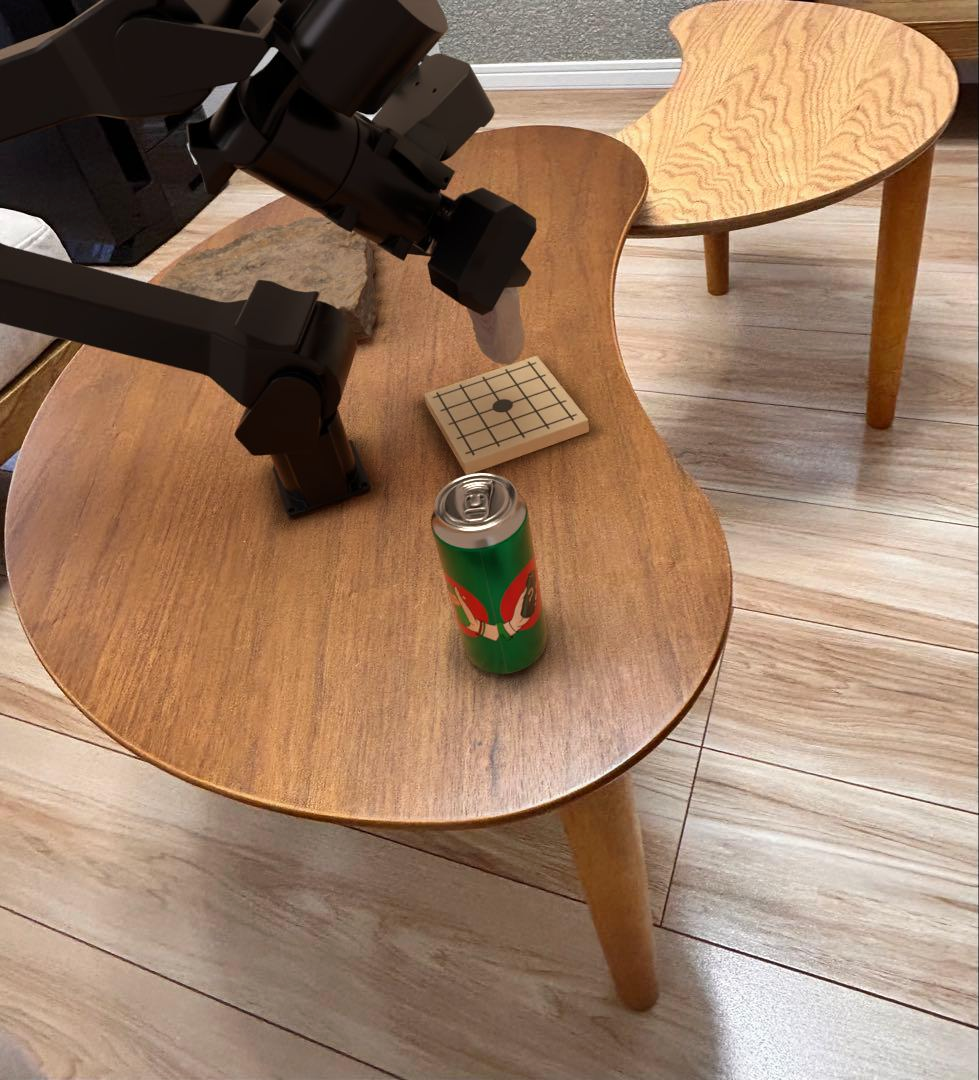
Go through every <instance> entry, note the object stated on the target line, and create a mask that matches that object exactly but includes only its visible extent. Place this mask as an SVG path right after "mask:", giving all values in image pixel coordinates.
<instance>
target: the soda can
mask: <svg viewBox="0 0 979 1080" xmlns="http://www.w3.org/2000/svg"><path fill="white" fill-rule="evenodd" d="M433 505H434V506H433V511H432V513H431V517H430V518H431V519H430V528H431V531H432V536H433V539H434V544H435V547H436V550H437V553H438V558H439V561H440V565H441V569H442V572H443V576H444V580H445V584H446V587H447V591H448V595H449V598H450V602H451V605H452V609H453V613H454V617H455V620H456V624H457V628H458V632H459V635H460V639H461V642H462V646H463V650H464V653H465V655H466V657H467V658H468V660H469V661H470V662H471V664H472V665H474V666H475V667H477V668H478V669H479V670H482V671H484V672H487V673H492V674H499V675H504V674H505V675H507V674H513V673H516V672H519V671H522V670H524V669H526V668H528V667H530V666H531V665H533V663H536V661H537V660H538V659H539V658H540V657H541V655H542V654H543V653H544V651H545V649H546V646H547V642H548V630H547V625H546V618H545V617H546V616H545V611H544V606H543V599H542V593H541V587H540V586H541V585H540V580H539V573H538V567H537V560H536V555H535V548H534V541H533V535H532V529H531V521H530V517H529V510H528V509H529V508H528V506H527V503H526V501H525V498H524V497H523V496H522V495H521V494H520V493H519V492H518V490H517V489H516V486H515V485H514V484H513V483H512V482H511V481H510V480H509V479H508V478H506V477H504V476H502V475H499V474H495V473H490V472H475V473H472V474H469V475H466V474H464V475H462V476H459V477H457V478H455V479H453V480H452V481H450V482H449V483H447V484H446V485H445V486H444V487H442V489H441V490H440V491H439V492H438V494H437V496H436V497H435V500H434V504H433Z"/></svg>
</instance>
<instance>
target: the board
mask: <svg viewBox="0 0 979 1080" xmlns="http://www.w3.org/2000/svg"><path fill="white" fill-rule="evenodd" d="M423 396H424V400H425V405H426V407H427V409H428V411H429V412H430V414H431V416H432V418H433V419H434V421H435V423H436V425H437V427H438V428H439V430H440V432H441V434H442V435H443V437H444V439H445V440H446V443H447V444H448V446H449V447H450V449H451V451H452V453H453V455H454V456H455V458H456V460H457V462H458V463H459V465H460V467H461V469H462V471H463V472H464V475H469V474H474V473H479V472H480V471H483V470H486V469H488V468H491V467H495V466H497V465H500V464H503V463H506V462H508V461H511V460H514V459H517V458H520V457H522V456H525V455H528V454H532V453H533V452H536V451H539V450H542V449H545V448H548V447H550V446H554V445H556V444H559V443H561V442H564V441H567V440H569V439H573V438H577V437H579V436H582V435H585V434H587V433H589V432H590V427H589V419H588V417H587V416H586V415H585V414H584V412H583V411H582V410H581V409H580V408H579V406H578V405H577V404H576V402H575V401H574V400H573V398H572V397H571V396H570V395H569V394H568V392H567V391H566V390H565V389H564V387H563V386H562V385H561V384H560V382H559V381H558V380H557V378H555V376H554V375H553V374H552V372H551V371H550V370H549V368H547V366H546V365H545V364H544V362H543V361H542V360H541V358H540V357H539V356H538V355H534V356H531V357H528V358H526V359H522V360H519V361H517V362H516V361H515V362H513V364H511V365H508V364H506V365H505V366H502V367H498V368H496V369H493V370H490V371H487V372H484V373H481V374H478V375H475V376H472V377H469V378H466V379H463V380H460V381H458V382H455V383H452V384H448V385H445V386H443V387H440V388H436V389H434V390H431V391H427V392H425V393H424V394H423Z"/></svg>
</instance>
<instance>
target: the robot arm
mask: <svg viewBox="0 0 979 1080" xmlns="http://www.w3.org/2000/svg"><path fill="white" fill-rule="evenodd" d="M448 30H449V25H448V19H447V17H446V14H445V12H444V11H443V8H442V5H440V3H439V1H438V0H99V1H98V2H96V3H95V4H94V5H92V6H91V7H89V8H88V9H86V10H85V11H83V12H82V13H81V14H80V15H78V16H76V17H75V18H73V19H72V20H71V21H69V22H67V23H66V24H65V25H63V26H61V27H58V28H56V29H53V30H50V31H48V32H45V33H43V34H39V35H37V36H34V37H31V38H28V39H26V40H23V41H20V42H17V43H15V44H12V45H9V46H7V47H4V48H1V49H0V144H4V143H5V142H9V141H11V140H15V139H18V138H21V137H24V136H27V135H30V134H32V133H36V132H39V131H42V130H45V129H48V128H50V127H51V128H52V127H53V126H57V125H59V124H62V123H66V122H69V121H72V120H75V119H79V118H89V117H96V116H102V117H108V118H114V119H119V120H136V119H147V118H156V117H166V116H174V115H181V114H186V113H189V112H192V111H193V110H195V109H197V108H198V107H199V108H200V106H202V105H203V103H204V102H205V101H206V100H207V99H208V98H209V97H210V95H211V94H212V93H213V91H215V89H216V88H218V87H222V86H227V85H232V84H234V86H233V88H232V89H231V91H230V92H229V93H228V94H227V96H226V98H225V99H224V100H223V102H222V103H221V104H220V105H219V107H218V108H217V110H216V111H215V112H214V113H212V114H211V115H210V116H208V117H206V118H204V119H202V120H199V121H194V122H189V123H187V124H186V136H187V143H188V150H189V153H190V155H191V156H192V157H193V159H194V160H195V162H196V164H197V166H198V168H199V171H200V175H201V177H202V181H203V186H204V191H205V193H206V194H207V195H209V196H214V197H215V196H217V195H218V194H219V193H220V192H221V191H222V189H223V188H224V187H225V186H226V185H227V184H228V182H229V181H230V179H231V178H232V177H233V175H234V174H235V173H236V172H237V171H238V170H239V171H240V172H243V173H245V174H247V175H248V176H250V177H252V178H254V179H256V180H258V181H259V182H260V183H261V182H262V183H263V184H265V185H267V186H269V187H271V188H273V189H274V190H276V191H278V192H280V193H281V194H284V195H286V196H288V197H289V198H291V199H293V200H295V201H297V202H298V203H300V204H302V205H304V206H305V207H308V208H310V209H311V210H313V211H315V212H317V213H319V214H321V216H323V217H324V218H328V219H329V220H330V221H332V222H333V223H335V224H336V225H338V226H339V227H341V228H343V229H345V230H347V231H349V232H351V233H352V231H354V232H356V233H358V234H359V235H361V236H363V237H365V238H367V239H369V240H370V241H371V243H374V244H376V245H377V246H378V247H380V248H381V249H383V251H386V252H387V253H388V254H390V255H392V256H393V257H395V258H397V259H398V260H401V261H403V262H405V260H406V258H407V257H408V255H412V256H421V257H430V259H429V260H428V262H427V270H428V274H429V281H430V285H432V286H433V287H434V288H436V289H437V290H439V291H440V292H442V293H443V294H445V295H447V297H450V298H451V299H452V300H454V301H455V302H456V303H458V304H459V305H461V306H463V307H465V308H466V309H467V308H469V309H470V310H472V311H474V312H476V313H478V314H480V315H482V316H483V315H485V314H487V313H489V312H491V311H492V310H493V309H494V307H495V305H496V303H497V301H498V300H499V298H500V296H501V294H502V292H503V290H504V289H505V288H512V287H518V288H523V287H525V286H526V284H527V283H528V281H529V279H531V276H532V271H531V269H530V268H529V267H528V265H526V263H525V262H524V260H522V258H523V256H524V254H525V253H526V251H527V249H528V248H529V246H530V244H531V242H532V240H533V238H534V236H535V234H536V233H537V230H538V228H537V218H536V217H535V216H533V215H532V214H530V213H529V212H527V211H526V210H525V209H523V208H522V207H520V206H519V205H517V204H516V203H514V202H512V201H510V200H508V199H506V198H505V197H502V196H501V195H499V194H497V193H495V192H493V191H490V190H489V189H487V188H485V187H482V186H481V187H478V188H477V189H474V190H471V191H470V192H462V193H460V194H459V195H458V196H457V197H456V198H455V199H453V198H452V197H450V196H448V195H447V194H444V193H442V192H441V191H446V190H447V189H448V187H449V184H450V182H451V181H452V179H453V177H454V175H455V173H456V170H454V169H453V168H451V167H450V166H448V165H447V164H445V163H444V162H445V161H447V160H449V159H451V158H452V157H453V156H454V155H455V154H456V153H457V152H458V151H459V150H461V148H462V147H463V146H464V145H465V144H466V143H467V142H468V141H469V140H470V138H471V137H472V136H474V134H475V133H476V132H478V130H479V129H480V128H485V127H486V126H487V125H488V124H489V123H490V122H491V121H492V119H493V118H494V117H495V116H494V115H495V112H496V111H495V107H494V106H493V104H492V102H491V100H490V98H489V97H488V95H487V93H486V91H485V89H484V87H483V86H482V84H481V82H480V81H479V79H478V76H477V75H476V73H475V71H474V69H473V68H472V66H471V65H470V63H469V62H467V61H464V60H462V59H458V58H456V57H452V56H450V55H447V54H444V53H441V52H440V53H434V54H431V55H429V53H430V52H431V51H432V49H433V48H434V47H435V46H436V45H437V43H438V42H439V41H440V40H441V39H442V38H443V37H444V35H445V34H446V33H447V32H448ZM272 48H274V49H276V50H277V51H276V53H275V55H274V56H272V58H271V59H270V61H268V63H266V65H265V66H264V67H263V68H261V69H260V70H259V71H257V72H256V73H255V74H253V72H254V71H255V70H256V69H257V67H258V66H259V65H260V63H261V62H262V60H263V59H264V58H265V56H266V55H267V54H268V53H269V52H270V50H271V49H272ZM252 74H253V75H252ZM367 116H374V117H372V119H370V118H369V117H367ZM318 297H319V292H317V291H311V292H302V291H295V290H292V289H289V288H286V287H284V286H282V285H279V284H277V283H275V282H272V281H267V280H257V282H256V283H255V285H254V287H253V289H252V291H251V293H250V295H249V297H248V299H246V300H240V301H233V302H219V301H215V300H211V299H207V298H203V297H200V296H196V295H192V294H188V293H185V292H181V291H177V290H173V289H169V288H166V287H162V286H159V284H154V283H151V282H146V281H143V280H139V279H134V278H132V277H128V276H123V275H120V274H116V273H112V272H108V271H105V270H100V269H97V268H93V267H90V266H87V265H82V264H79V263H74V262H70V261H68V260H63V259H60V258H56V257H52V256H48V255H44V254H40V253H37V252H33V251H29V250H26V249H22V248H18V247H13V246H10V245H8V244H4V243H2V242H0V324H2V325H4V326H5V325H6V326H9V327H14V328H17V329H22V330H25V331H29V332H33V333H36V334H41V335H46V336H49V337H53V338H57V339H60V340H65V341H69V342H73V343H77V344H81V345H85V346H88V347H93V348H96V349H100V350H105V351H109V352H113V353H116V354H121V355H125V356H128V357H131V358H137V359H140V360H144V361H148V362H153V363H157V364H160V365H164V366H168V367H173V368H176V369H180V370H184V371H188V372H192V373H196V374H200V375H203V376H206V377H208V378H210V379H211V380H212V381H213V382H214V383H215V384H217V386H219V388H221V389H222V390H223V391H225V392H226V393H227V394H228V395H229V396H230V397H231V398H233V399H234V401H236V402H237V403H238V404H240V405H241V406H242V407H244V410H243V413H242V415H241V418H240V419H239V422H238V424H237V426H236V429H235V431H234V437H235V438H236V440H238V442H239V443H240V444H241V445H242V446H243V447H244V448H245V450H246V451H248V453H249V454H250V455H251V456H253V457H261V456H270V459H271V461H272V463H273V466H272V472H273V475H274V477H275V482H276V485H277V489H278V493H279V495H280V498H281V502H282V505H283V508H284V512H285V514H286V516H287V518H288V519H290V520H291V519H292V520H293V519H297V518H299V517H302V516H305V515H308V514H310V513H314V512H316V511H319V510H322V509H324V508H327V507H330V506H333V505H336V504H339V503H342V502H345V501H347V500H350V499H353V498H356V497H360V496H362V495H364V494H367V493H370V492H371V490H372V484H371V481H370V479H369V476H368V474H367V472H366V469H365V467H364V465H363V463H362V461H361V457H360V455H359V453H358V451H357V448H356V447H355V444H354V441H353V440H351V439H349V438H348V435H347V432H346V429H345V425H344V422H343V420H342V416H341V413H340V409H339V406H340V403H341V400H342V397H343V394H344V391H345V387H346V385H347V382H348V379H349V375H350V372H351V368H352V365H353V362H354V359H355V356H356V352H357V346H358V345H357V339H356V336H355V333H354V330H353V328H352V326H351V325H350V324H349V322H348V321H347V320H346V318H345V317H344V313H343V312H342V311H340V310H339V309H337V308H336V307H334V306H332V305H330V304H328V303H325V302H322V301H317V300H318Z"/></svg>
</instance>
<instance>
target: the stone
mask: <svg viewBox="0 0 979 1080" xmlns="http://www.w3.org/2000/svg"><path fill="white" fill-rule="evenodd" d="M374 250H375V246H374V244H373V242H372V241H370V240H369V239H367V238H365V237H363V236H361V235H359V234H358V233H356V232H354V231H352V233H351V232H349V231H347V230H345V229H343V228H341V227H339V226H338V225H336V224H335V223H333V222H332V221H330V220H329V219H328V218H326V217H311V216H310V217H309V216H306V217H304V218H300V219H297V220H294V221H292V222H290V223H289V224H285V225H284V224H273V225H269V226H265V228H262V229H254V230H250V231H245V233H243V234H242V235H240V236H239V237H236V238H235V239H234V240H233V241H232V242H229V243H226V244H225V245H224V246H223V247H218V248H214V247H213V248H210V249H209V248H208V249H207V248H206V249H203V250H198V251H196V252H194V253H191V254H185V255H184V257H183V258H182V259H181V260H180V261H178V262H177V263H176V264H175V265H174V266H173V267H171V268H170V270H168V272H167V273H166V274H165V275H164V276H163V277H162V279H161V281H160V283H159V284H158V286H162V287H166V288H169V289H173V290H177V291H181V292H185V293H188V294H192V295H196V296H200V297H203V298H207V299H211V300H215V301H219V302H233V301H240V300H246V299H248V297H249V295H250V293H251V291H252V289H253V287H254V285H255V283H256V282H257V280H267V281H272V282H275V283H277V284H279V285H282V286H284V287H286V288H289V289H292V290H295V291H302V292H311V291H317V292H319V297H318V300H317V301H322V302H325V303H328V304H330V305H332V306H334V307H336V308H337V309H339V310H340V311H342V312H343V313H344V317H345V318H346V320H347V321H348V322H349V324H350V325H351V326H352V328H353V330H354V333H355V336H356V340H362V339H363V340H364V339H370V338H372V336H373V327H374V325H375V323H376V317H377V315H378V313H379V307H378V303H377V300H378V299H377V296H376V285H375V280H374V278H373V277H374V274H375V273H376V263H375V258H374Z"/></svg>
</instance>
